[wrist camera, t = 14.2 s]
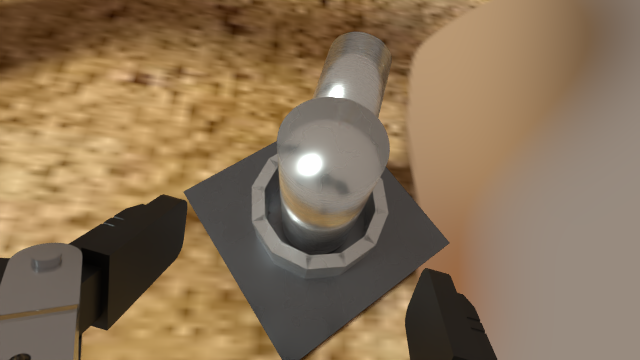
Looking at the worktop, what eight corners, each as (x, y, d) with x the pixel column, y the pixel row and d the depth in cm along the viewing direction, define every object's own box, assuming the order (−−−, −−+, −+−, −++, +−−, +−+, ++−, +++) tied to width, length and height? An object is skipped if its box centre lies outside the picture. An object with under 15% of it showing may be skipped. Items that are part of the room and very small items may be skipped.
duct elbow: (342, 263, 24) (377, 208, 14) (273, 243, 24) (261, 176, 14) (369, 149, 28) (412, 44, 18) (309, 133, 28) (320, 21, 19)
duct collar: (187, 197, 27) (168, 170, 22) (335, 116, 31) (342, 80, 27) (287, 367, 22) (287, 373, 18) (443, 246, 27) (472, 229, 22)
